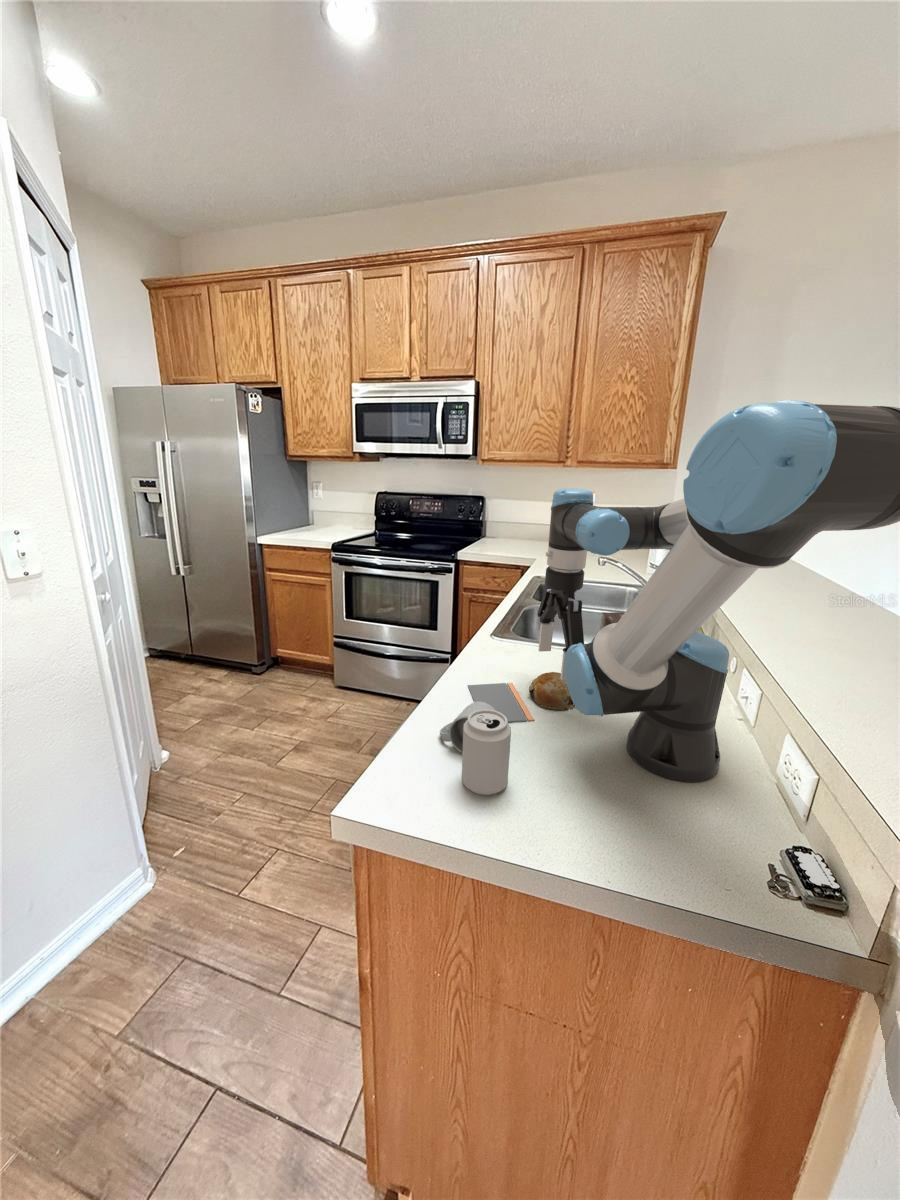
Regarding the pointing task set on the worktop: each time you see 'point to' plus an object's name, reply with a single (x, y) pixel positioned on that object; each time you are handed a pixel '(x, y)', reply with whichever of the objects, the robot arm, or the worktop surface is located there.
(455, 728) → the ceramic mug
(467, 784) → the can
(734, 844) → the worktop surface
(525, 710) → the mat
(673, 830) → the worktop surface
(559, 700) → the bread roll
